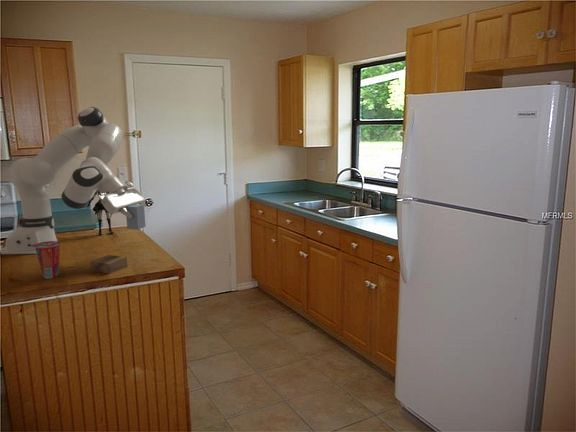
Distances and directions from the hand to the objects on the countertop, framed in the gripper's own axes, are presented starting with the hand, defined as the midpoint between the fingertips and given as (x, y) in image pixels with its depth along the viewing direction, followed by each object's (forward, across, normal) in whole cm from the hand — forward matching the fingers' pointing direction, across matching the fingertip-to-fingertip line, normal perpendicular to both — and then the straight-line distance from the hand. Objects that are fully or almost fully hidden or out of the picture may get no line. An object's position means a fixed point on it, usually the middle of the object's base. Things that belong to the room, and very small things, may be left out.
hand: (136, 215), depth 190 cm
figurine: (-16, +30, +41) cm, 53 cm away
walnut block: (+11, -15, +14) cm, 24 cm away
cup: (0, -29, +25) cm, 38 cm away
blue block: (+3, 0, +4) cm, 5 cm away
